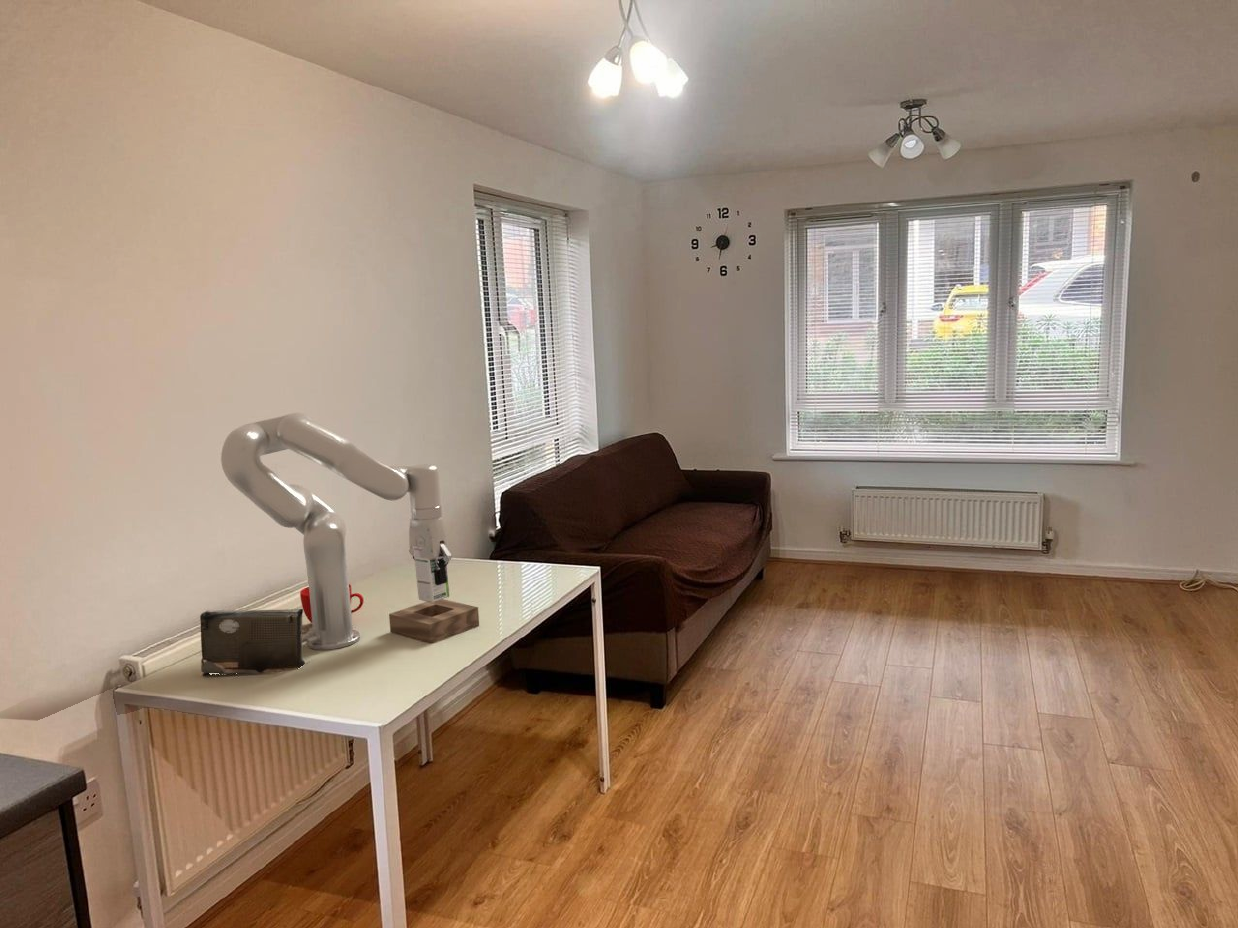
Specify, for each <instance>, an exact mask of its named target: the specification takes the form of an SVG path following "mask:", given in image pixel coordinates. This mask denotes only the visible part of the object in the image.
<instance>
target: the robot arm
mask: <svg viewBox="0 0 1238 928" xmlns="http://www.w3.org/2000/svg"><path fill="white" fill-rule="evenodd" d="M285 450H290V451H292V452H294V453H296V454H298V455H300V456H302V457H304V458H307V459H308V460H310V461H312V462H314V463H316V464H318V465H319V466H322V467H324V468H326V469H328V470H330V471H331V472H333V473H334V474H336V475H338V476H340V477H341V478H344V479H346V480H347V481H349V482H351V483H352V484H354V485H356V486H358V487H360V488H361V489H363V490H366V491H367V492H370V493H371V494H373V495H375V496H377V497H379V498H381V499H384V500H386V501H393V502H394V501H399V500H401V499H402V498H404V497H405V496H406V495H407V493H408V494H409V499H410V500H409V501H410V512H411V518H410V520H409V531H408V533H409V534H408V536H409V537H408V538H409V539H408V541H409V550H408V552H409V554H410V555H411V556H412V559H413V561H414V562H415V559H414V549H413V546H414V547H418V548H419V547H421V548H422V549H423V548H424V549H423V550H422V549H420V548H419V549H420V550H422V551H420V550H419V549H418V551H419V554H420V557H421V558H426V559H429V560H433V562H434V565H435V568H436V570H434V575H435V584H436V585H440V584H444V583H446V570H445V568H446V567H448V564H449V562H450V560H451V559H452V558H453V555H452V554H451V552H450V550H449V548H448V547H449V546H448V539H447V532H446V527H445V523H444V519H443V512H442V501H441V488H440V475H439V469H438V466H436V465H434V464H431V463H429V464H427V463H426V464H417V465H411V466H405V465H389V466H388V465H386V464H383V463H382V462H380V461H378V460H376V459H374V458H373V457H371V456H370V455H367V454H366V453H365V452H363V451H362V450H361V449H360V448H359V447H358V446H357V445H356V444H355V443H354V442H352V441H350V439H347V438H346V437H343V436H341V435H340V434H337V433H335V432H334V431H332V430H330V429H328V428H326V427H323V426H322V425H320V424H318V423H316V422H315V421H313V419H312V418H311V417H310V416H309V415H307V414H304V413H302V412H293V413H289V414H285V415H282V416H281V415H280V416H278V417H273V418H269V419H264V420H259V421H255V422H250V423H246V424H243V425H241V426H239V427H237V428H235V429H234V430H232V431H231V432H230V433H229V434H228V435H227V436H226V438H225V440H224V442H223V445H222V449H221V453H220V455H221V456H220V463H221V467H222V470H223V473H224V475H225V476H226V478H227V480H228V481H229V482H230V484H232V486H234V487H235V488H236V489H237V490H238V491H239V492H240V493H241V494H242V495H244V496H245V497H246V498H247V499H249V500H250V501H251V502H252V503H253V504H254V505H255V506H257V507H258V508H259V509H261V510H262V511H263V512H264V513H265V514H266V515H267V516H269V517H270V518H271V519H272V520H273V521H274V522H275V523H277V524H278V526H281V527H284V528H290V529H292V528H294V529H296V530H297V531H298V532H299V533H300V534H302V535H303V540H302V541H303V545H302V546H303V550H304V551H303V552H304V558H305V559H304V560H305V565H306V567H305V568H306V572H307V573H306V574H307V583H308V587H309V594H310V605H311V615H312V623H311V624H312V626H310V627H308V631H307V632H306V633H304V634H302V644H303V643H305V642H306V644H307V646H308V647H309V648H311V649H313V650H321V651H322V650H326V651H328V650H335V649H340V648H345V647H347V646H350V645H353V644H355V643H357V642H358V641H359V640H360V638H361V634H360V632H359V631H358V630H356V629H354V626H353V617H352V616H353V615H352V614H353V613H351V610H352V601H351V602H350V591H349V584H350V583H349V571H348V570H349V569H348V562H347V561H348V560H347V551H346V535H347V534H346V531H347V529H346V528H347V527H346V524H345V522H344V520H343V518H342V517H341V516H340V515H339V514H338V513H337V512H336V511H335V510H333V509H332V508H331V507H329V506H328V505H327V504H326V503H325V502H323V501H322V500H321V499H320V497H317V495H315V494H314V493H313V492H312V491H310V490H309V489H307V488H306V487H304V486H302V485H299V484H292V483H291V484H289V483H288V482H286V481H285V480H284V479H282V478H281V477H280V476H279V475H278V474H277V473H275V472H274V471H273V470H271V468H269V467H267V466H266V465H265V464H264V463H263V462H262V459H261V456H265V455H269V454H272V453H273V454H274V453H278V452H281V451H285ZM439 554H440V556H439ZM438 556H439V557H438ZM438 559H440V563H439V562H438Z"/></svg>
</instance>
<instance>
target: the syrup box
mask: <svg viewBox="0 0 1238 928" xmlns="http://www.w3.org/2000/svg"><path fill="white" fill-rule="evenodd" d="M419 548H420V549H422V548H421V547H419ZM419 548H418V547H414V546H413V549H414V559H415V561H414V567H415V576H416V577H415V578H416V587H417V597H418V600H420V601H423V602H432V603H433V602H435V601H438V600H441V599H444V600H445V599H447V598H449V597H450V588H449V579H448V578H449V577H448V568H447V567H448V566H447V567H446V568H445V570H446V583H444V584H440V585H436V584H435V575H434V570H436V568H435V565H434V562H433V560H429V559H426V558H421V557H420V554H419V551H418V549H419ZM420 549H419V550H420ZM423 549H424V548H423ZM423 549H422V550H423ZM422 550H420V551H422ZM439 556H440V554H439ZM439 556H438V557H439ZM414 559H413V560H414ZM438 562H439V563H440V559H438Z"/></svg>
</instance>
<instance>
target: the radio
mask: <svg viewBox="0 0 1238 928" xmlns="http://www.w3.org/2000/svg"><path fill="white" fill-rule="evenodd" d="M303 613H304V610H303V608H299V609H298V608H297V609H296V608H295V609H289V608H288V609H287V608H286V609H246V610H244V609H243V610H241V609H239V610H237V609H222V610H219V609H218V610H211V609H210V610H209V609H208V610H206V611H204V612H202V613H201V614H200V616H199V618H200V619H199V621H200V644H201V646H200V647H201V661H200V662H201V666H200V668H201V671H200V672H202V675H201V676H202V677H211V676H213V675H215V674H212V675H210V674H209V673H219V674H220V675H219V674H216V675H219V676H240V675H241V676H242V675H243V676H244V675H264V674H265V675H267V674H268V675H269V674H274V673H275V674H276V673H279V672H282V671H283V672H286V671H297V670H299V669H298V668H300V667H301V666H303V665H304V664H305V662H306V661H307V660H305V659H303V643H302V635H303ZM305 665H306V664H305ZM305 665H304V666H305ZM304 666H303V667H304ZM296 669H297V670H296ZM300 669H301V668H300ZM236 673H237V674H236ZM222 674H223V675H222ZM224 674H226V675H224Z"/></svg>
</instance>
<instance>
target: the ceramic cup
mask: <svg viewBox="0 0 1238 928" xmlns="http://www.w3.org/2000/svg"><path fill="white" fill-rule="evenodd" d="M349 591H350V602H351V603H352V598H353V597H357V598H358V599H359V604H358V605H357V607H356V608H353V609H351V614H353V613H355V612H358V611H359V610H360V609H361V608H362V606H363V604H364V597H363V596H362V594H360V593H357V592H354V593H352V584H351V583H349ZM299 594H300V595H299V597H300V602H301V607H302V609H303V613H304V615H305V617H306V619H307V620H308V621H309V623H311V624H312V615H311V605H310V594H309V586H306V587H304V588H302V589H301V590H300V593H299Z"/></svg>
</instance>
